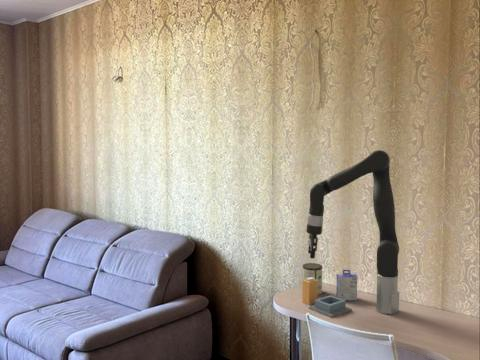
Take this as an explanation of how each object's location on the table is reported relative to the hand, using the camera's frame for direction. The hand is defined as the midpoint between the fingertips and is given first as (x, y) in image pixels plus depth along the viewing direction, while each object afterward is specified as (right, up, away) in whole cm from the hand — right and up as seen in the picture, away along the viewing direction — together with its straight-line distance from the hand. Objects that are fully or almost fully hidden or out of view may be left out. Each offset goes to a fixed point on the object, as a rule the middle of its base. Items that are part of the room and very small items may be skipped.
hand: (311, 255), depth 226 cm
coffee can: (+3, -22, +16) cm, 27 cm away
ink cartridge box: (+19, -23, +5) cm, 30 cm away
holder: (+7, -24, -10) cm, 27 cm away
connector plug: (-1, -23, 0) cm, 23 cm away
